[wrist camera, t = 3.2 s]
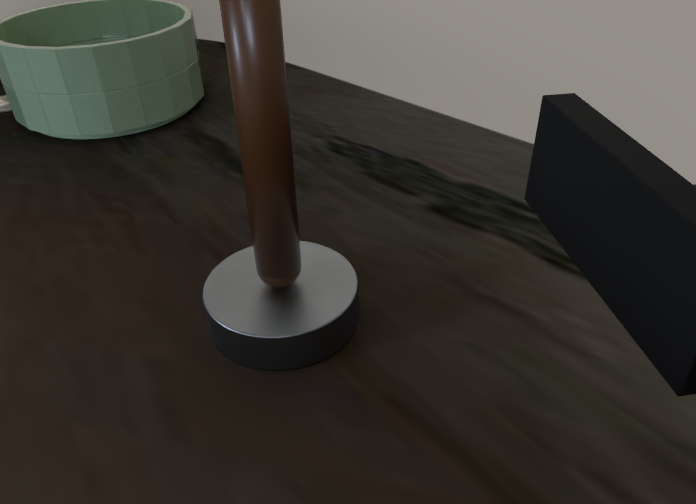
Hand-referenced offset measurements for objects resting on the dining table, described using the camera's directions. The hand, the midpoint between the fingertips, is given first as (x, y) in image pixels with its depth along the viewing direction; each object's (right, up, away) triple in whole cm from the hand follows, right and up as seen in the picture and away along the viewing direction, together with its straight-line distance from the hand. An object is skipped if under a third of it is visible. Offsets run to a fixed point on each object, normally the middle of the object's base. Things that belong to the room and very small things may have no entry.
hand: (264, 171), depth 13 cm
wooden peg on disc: (-1, -5, +14) cm, 15 cm away
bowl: (-18, +11, +37) cm, 42 cm away
